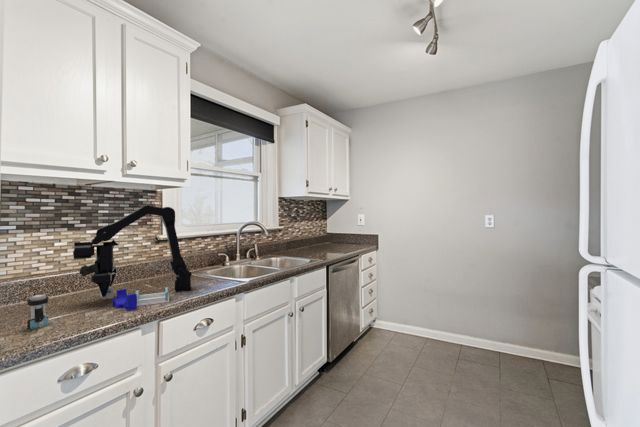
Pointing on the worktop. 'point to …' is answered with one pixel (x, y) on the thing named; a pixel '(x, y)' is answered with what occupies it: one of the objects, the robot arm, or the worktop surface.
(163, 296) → the end holder
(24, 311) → the worktop surface
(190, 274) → the robot arm
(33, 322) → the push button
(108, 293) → the usb wall charger
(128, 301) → the cable clip
